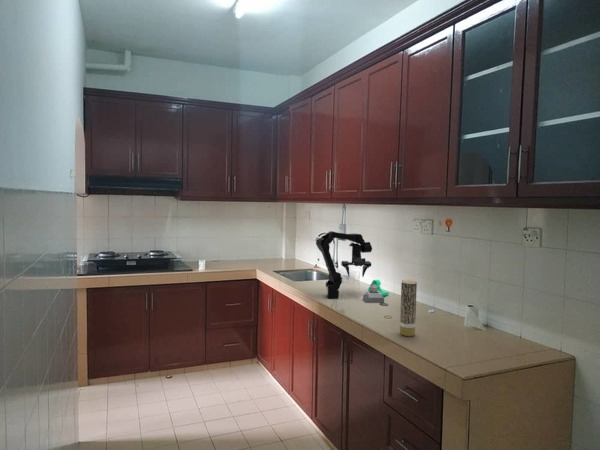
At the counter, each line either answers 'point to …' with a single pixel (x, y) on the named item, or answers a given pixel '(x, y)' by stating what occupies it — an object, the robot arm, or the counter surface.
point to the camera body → (373, 297)
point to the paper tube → (408, 307)
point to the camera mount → (379, 287)
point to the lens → (373, 288)
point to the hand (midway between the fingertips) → (355, 276)
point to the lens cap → (383, 304)
